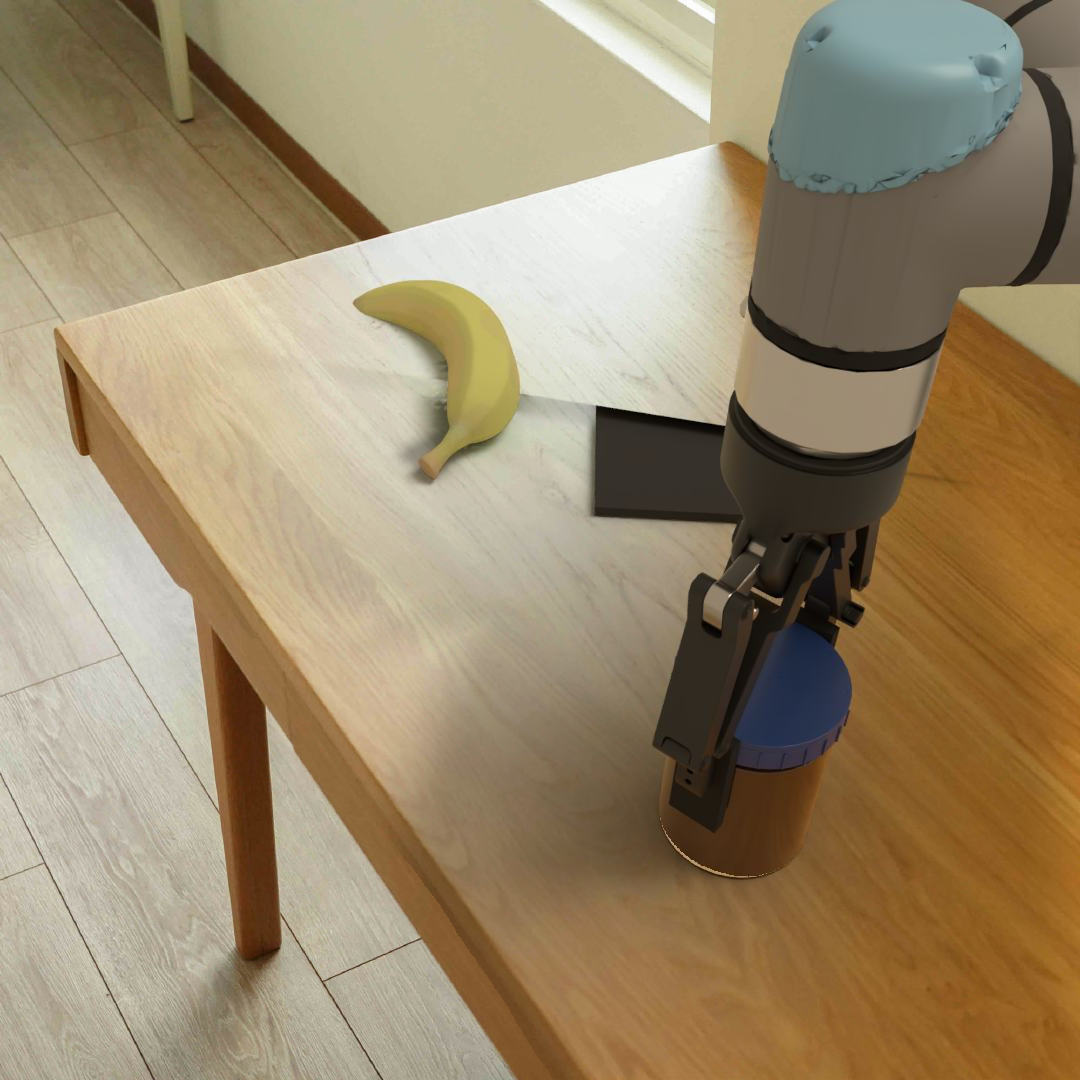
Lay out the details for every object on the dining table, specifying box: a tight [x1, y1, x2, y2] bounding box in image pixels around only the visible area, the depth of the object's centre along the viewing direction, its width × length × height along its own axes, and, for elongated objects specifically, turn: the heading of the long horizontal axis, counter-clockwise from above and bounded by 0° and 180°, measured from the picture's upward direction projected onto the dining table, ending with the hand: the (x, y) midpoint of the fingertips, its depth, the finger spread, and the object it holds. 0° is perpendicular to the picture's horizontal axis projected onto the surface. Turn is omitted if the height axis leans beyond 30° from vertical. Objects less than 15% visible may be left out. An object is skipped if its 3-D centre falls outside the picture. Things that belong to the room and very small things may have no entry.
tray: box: [593, 404, 742, 524], centre depth 95 cm, size 14×14×1 cm
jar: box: [658, 745, 833, 877], centre depth 69 cm, size 8×8×10 cm
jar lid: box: [670, 621, 853, 770], centre depth 66 cm, size 9×9×2 cm
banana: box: [352, 279, 521, 480], centre depth 98 cm, size 14×6×20 cm
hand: (745, 755), depth 69 cm, fingers closed on jar lid, 9 cm apart
